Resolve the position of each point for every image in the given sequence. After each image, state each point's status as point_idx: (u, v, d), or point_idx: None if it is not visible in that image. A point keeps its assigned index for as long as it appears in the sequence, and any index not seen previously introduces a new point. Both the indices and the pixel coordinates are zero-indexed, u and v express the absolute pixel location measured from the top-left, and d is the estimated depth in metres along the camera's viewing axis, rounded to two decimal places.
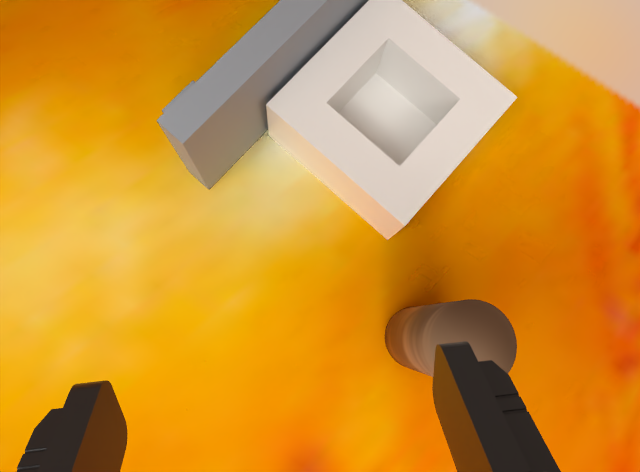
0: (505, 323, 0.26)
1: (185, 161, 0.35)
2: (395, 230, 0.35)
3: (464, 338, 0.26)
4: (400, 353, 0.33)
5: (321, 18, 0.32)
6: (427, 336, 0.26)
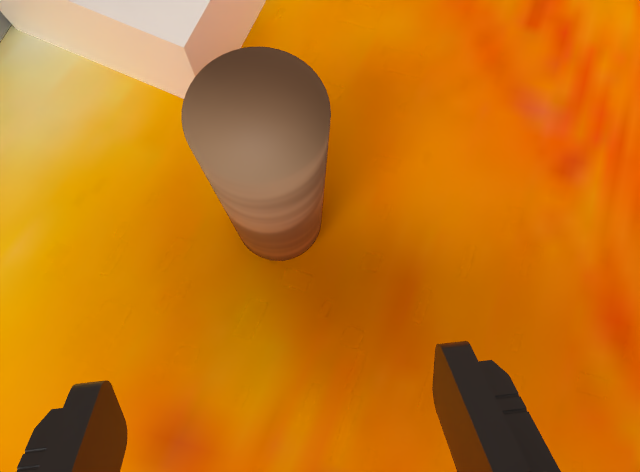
0: (300, 68, 0.16)
1: None
2: (191, 73, 0.25)
3: (239, 109, 0.15)
4: (235, 226, 0.23)
5: None
6: None
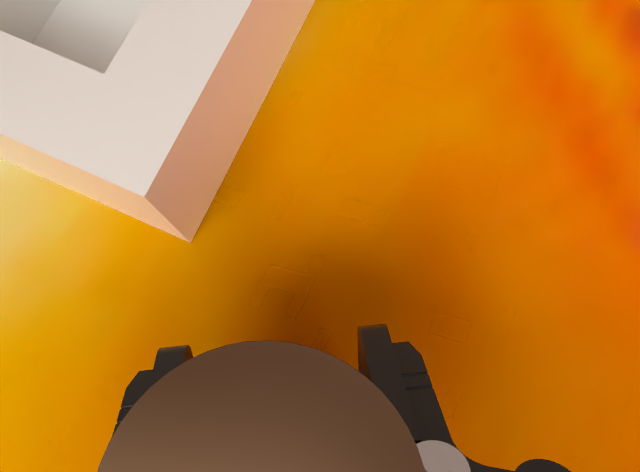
0: (360, 395, 0.07)
1: None
2: (161, 216, 0.16)
3: None
4: None
5: None
6: None
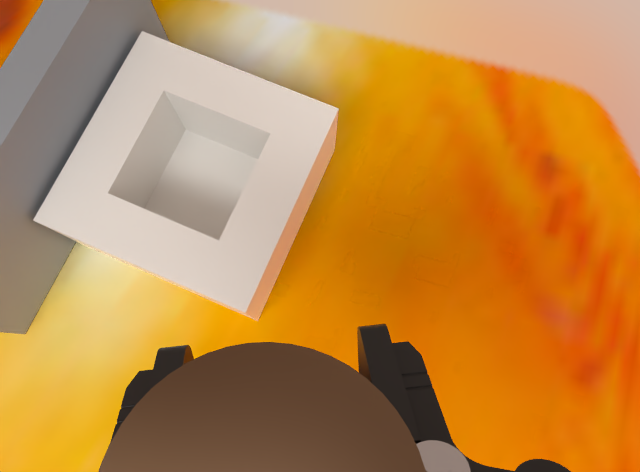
0: (361, 397, 0.07)
1: None
2: (248, 315, 0.28)
3: None
4: None
5: (53, 98, 0.25)
6: None
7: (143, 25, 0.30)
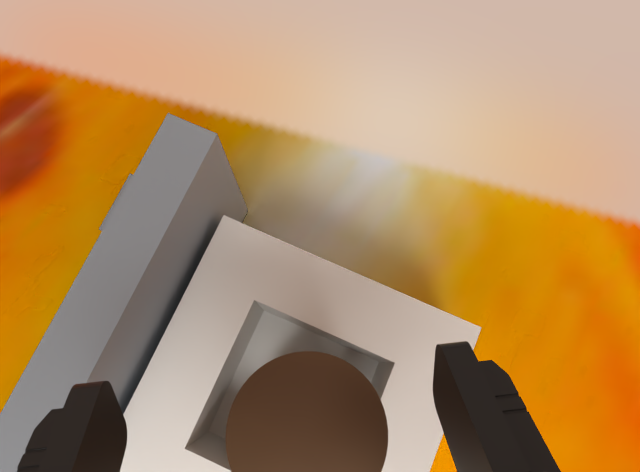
0: (351, 375, 0.14)
1: None
2: None
3: (288, 431, 0.14)
4: None
5: (120, 347, 0.18)
6: None
7: (222, 202, 0.23)
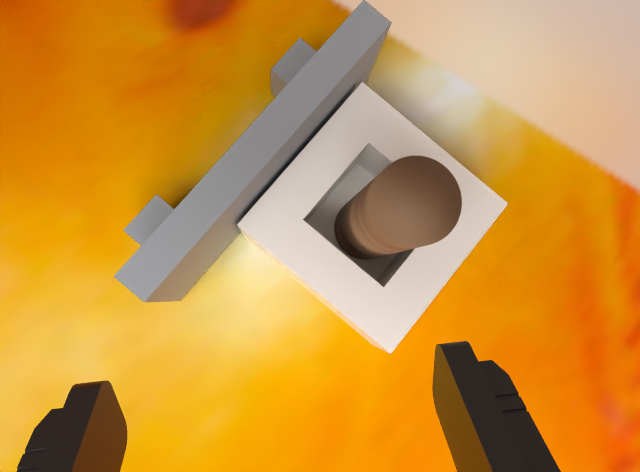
0: (451, 180, 0.25)
1: None
2: (380, 348, 0.33)
3: (408, 194, 0.25)
4: (347, 234, 0.32)
5: (294, 139, 0.29)
6: (371, 193, 0.25)
7: (362, 75, 0.33)
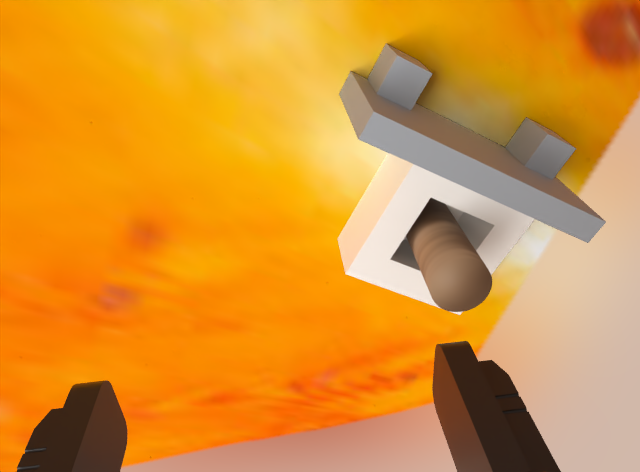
0: (475, 303, 0.37)
1: (354, 92, 0.38)
2: (343, 257, 0.46)
3: (464, 279, 0.37)
4: (422, 217, 0.43)
5: None
6: (462, 255, 0.36)
7: None
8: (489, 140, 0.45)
